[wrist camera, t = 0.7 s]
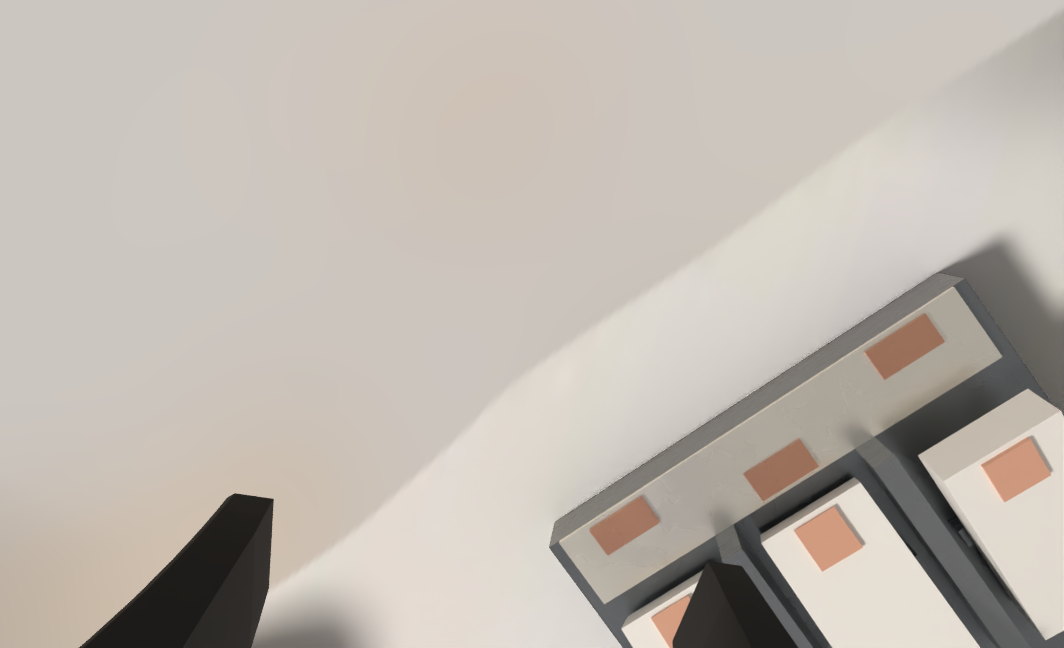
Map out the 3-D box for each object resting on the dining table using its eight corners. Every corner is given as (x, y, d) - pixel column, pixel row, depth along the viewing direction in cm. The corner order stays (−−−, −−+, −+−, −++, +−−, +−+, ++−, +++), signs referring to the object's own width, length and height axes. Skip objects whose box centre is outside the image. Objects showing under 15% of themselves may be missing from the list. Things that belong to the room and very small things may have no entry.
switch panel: (1153, 585, 31) (1252, 656, 26) (759, 800, 34) (781, 898, 29) (937, 272, 30) (996, 284, 25) (554, 522, 33) (542, 575, 28)
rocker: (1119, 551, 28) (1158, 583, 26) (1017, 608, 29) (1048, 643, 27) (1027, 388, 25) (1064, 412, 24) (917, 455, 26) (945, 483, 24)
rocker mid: (999, 677, 27) (1016, 697, 25) (896, 734, 28) (905, 756, 26) (854, 476, 29) (861, 482, 27) (760, 534, 29) (761, 543, 28)
